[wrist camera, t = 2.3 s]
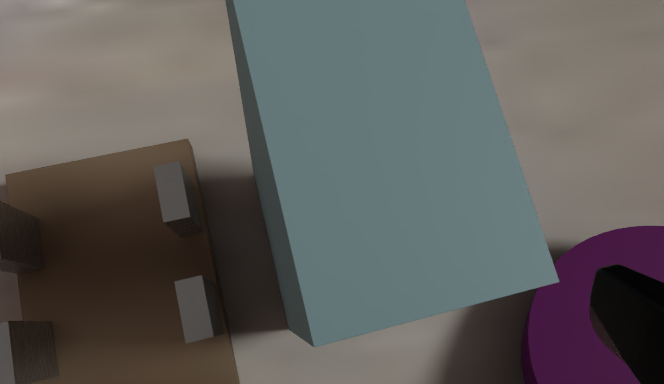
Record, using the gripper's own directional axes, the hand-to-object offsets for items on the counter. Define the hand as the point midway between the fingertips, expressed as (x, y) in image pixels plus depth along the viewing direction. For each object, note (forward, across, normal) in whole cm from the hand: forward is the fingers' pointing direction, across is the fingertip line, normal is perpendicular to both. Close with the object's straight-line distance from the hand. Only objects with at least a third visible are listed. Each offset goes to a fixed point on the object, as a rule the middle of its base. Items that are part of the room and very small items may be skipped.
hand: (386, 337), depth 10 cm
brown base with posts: (+9, +7, +4) cm, 12 cm away
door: (+9, 0, +4) cm, 10 cm away
